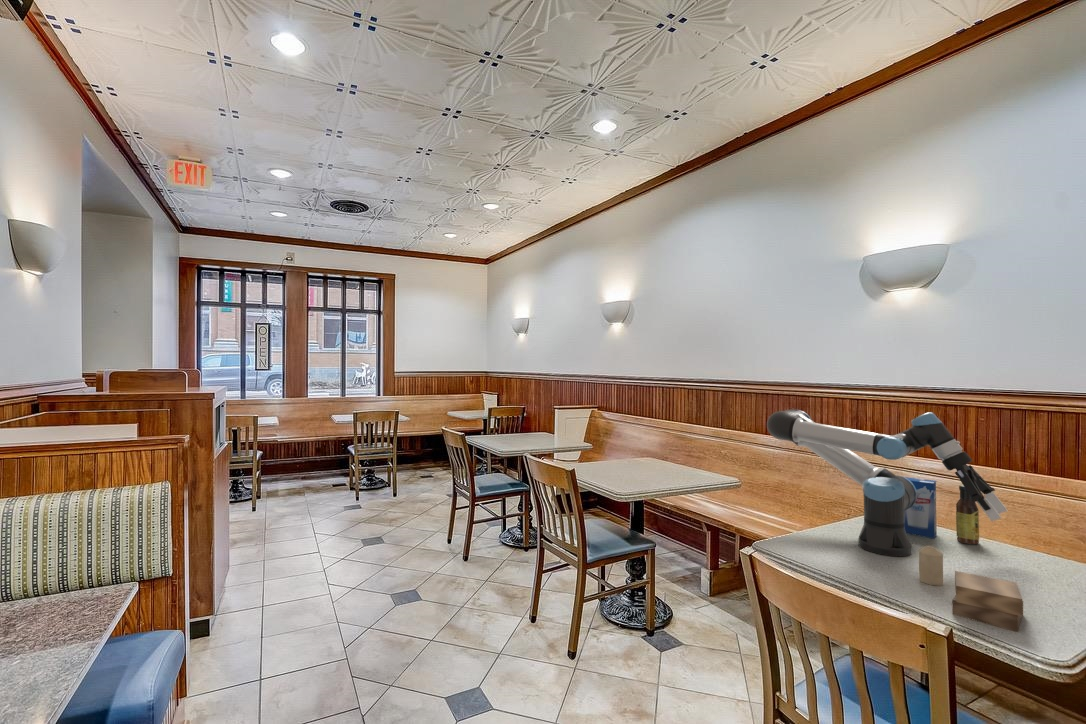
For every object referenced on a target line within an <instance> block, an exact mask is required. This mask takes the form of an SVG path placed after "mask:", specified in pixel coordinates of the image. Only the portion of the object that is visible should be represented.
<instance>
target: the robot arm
mask: <svg viewBox="0 0 1086 724" xmlns="http://www.w3.org/2000/svg"><path fill="white" fill-rule="evenodd" d="M910 423H911V425H912V426H911V427H909V428H908V429H905V430H903V431H901V432H899V433H897V434H893V435H889V434H883V433H876V432H871V431H864V430H860V429H853V428H849V427H848V428H847V427H842V426H835V425H829V424H823V423H817V422H815V421H814V420H812V418H811V417H810V415H809V414H808V413H806V412H805V411H803V410H800V409H794V408H793V409H786V410H779V411H776V412H773V413H772V414H771V415H769V417H768V419H767V421H766V429H767V431H768V433H769V434H770V435H771V437H773V438H775V439H776V440H780V441H788V442H792V443H793V444H794V445H796V446H798V447H800V448H801V447H805V448H807V449H808V450H809V451H811V452H813V453H814V454H816V455H817V456H819V457H820V458H821V459H823V460H825V462H827V463H828V464H830V465H831V466H833V467H834V468H836V469H837V470H838V471H840V472H842V474H844V475H846V476H847V477H849V478H850V479H851V480H853V481H854V482H856V483H858V484H859V486H861V487H862V493H863V525H862V527H861V530H860V533H859V535H858V539H857V540H858V541H857V544H858V546H859V548H861V549H863V550H865V551H867V552H870V553H874V554H878V555H884V556H889V557H890V556H891V557H908V556H910V555H912V545H911V542H910V539H909V536H908V534H907V533H906V531H905V510H907V509H909V508H911V507H912V506H913V504H914V503H915V501H916V499H917V490H916V488H915V486H914V485H913V483H912V482H911V481H910V480H908V479H907V478H905V477H906V476H901V475H896V474H894V473H893V472H892V471H889V470H888V469H886V468H885V467H876V466H874V465H873V464H872V463H870V462H869V461H867V460H866V459H864V458H863V457H861V456H860V455H858V454H857V453H855V452H859V453H864V454H869V455H874V456H878V457H882V458H884V459H885V460H890V461H891V460H892V461H893V460H895V461H896V460H899V459H901V458H902V459H903V458H905V457H906V456H908V455H910V454H913V453H914V452H916V451H919V450H920V449H923V448H925V447H927V446H929V448H930V449H931V450H932V451H933V453H934V454H935V456H936V457H937V459H938V460H941V463H942V465H943V466H944V467H945V468H946V470H947V471H953V470H955V472H954V473H955V475H956V476H957V477H958V480H959V481H960V482H961V485H964V487H965V489H966V490H967V492H968V493H969V495H970V497H971V499H972V502H975V503H976V504H978V506H979V507H980V508H981V510H982V511H983V512H984V514H985V515H986V516H987V518H989V520H990V522H994V521H996V520H1001V519H1002V516H1001V515H1000V514H1002V513H1005V512H1008V510H1009V509H1007V506H1005V505H1004V503H1003V502H1002V501H1001V500H1000V498H999V497H998V496H997V495H996V493H995V492H994V491H996V490H995V488H994V487H992V486H990V484H989V483H988V482H987V481H986V480H985V479H984V478H983V477H982V476H981V474H979V473H978V472H977V471H976V470H975V468H974V467H973V466H972V465H971V464H970V463H971V462H973V460H972V458H971V456H970V455H968V453H967V452H966V451H962V450H963V449H964V448H963V447H962V446H961V445H960V444H961V441H960V440H957V439H955V437H954V436H953V434H951V432H950V430H948V429H947V427H946V425H945V424H944V423H943V422H942V421H941V419H939V418H938V416H936V414H935V413H934V412H931V411H930V412H925V413H923V414H921V415H918V416H917V417H916V418H913V419H912V420H911V421H910ZM853 451H854V452H853ZM968 464H969V465H968Z"/></svg>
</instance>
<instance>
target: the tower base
mask: <svg viewBox="0 0 1086 724" xmlns="http://www.w3.org/2000/svg"><path fill="white" fill-rule="evenodd" d="M951 602H952V603H951V604H952V605H951V606H952V615H955V616H958V617H962V618H965V619H968V618H969V620H972V619H973V620H972V621H976V622H979V623H983V624H986V625H990V626H994V627H997V628H1001V629H1004V630H1008V631H1012V632H1015V633H1019V631H1020V627H1021V625H1022V624H1021V623H1022V621H1023V618H1024V616H1023V617H1022V616H1018V615H1013V614H1009V613H1004V612H1000V611H995V610H990V609H986V608H981V607H977V606H972V605H968V604H963V603H959V602H956V594H955V595H954V596H953V598H952V600H951ZM1022 610H1023V611H1024V601H1023V600H1022Z"/></svg>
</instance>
